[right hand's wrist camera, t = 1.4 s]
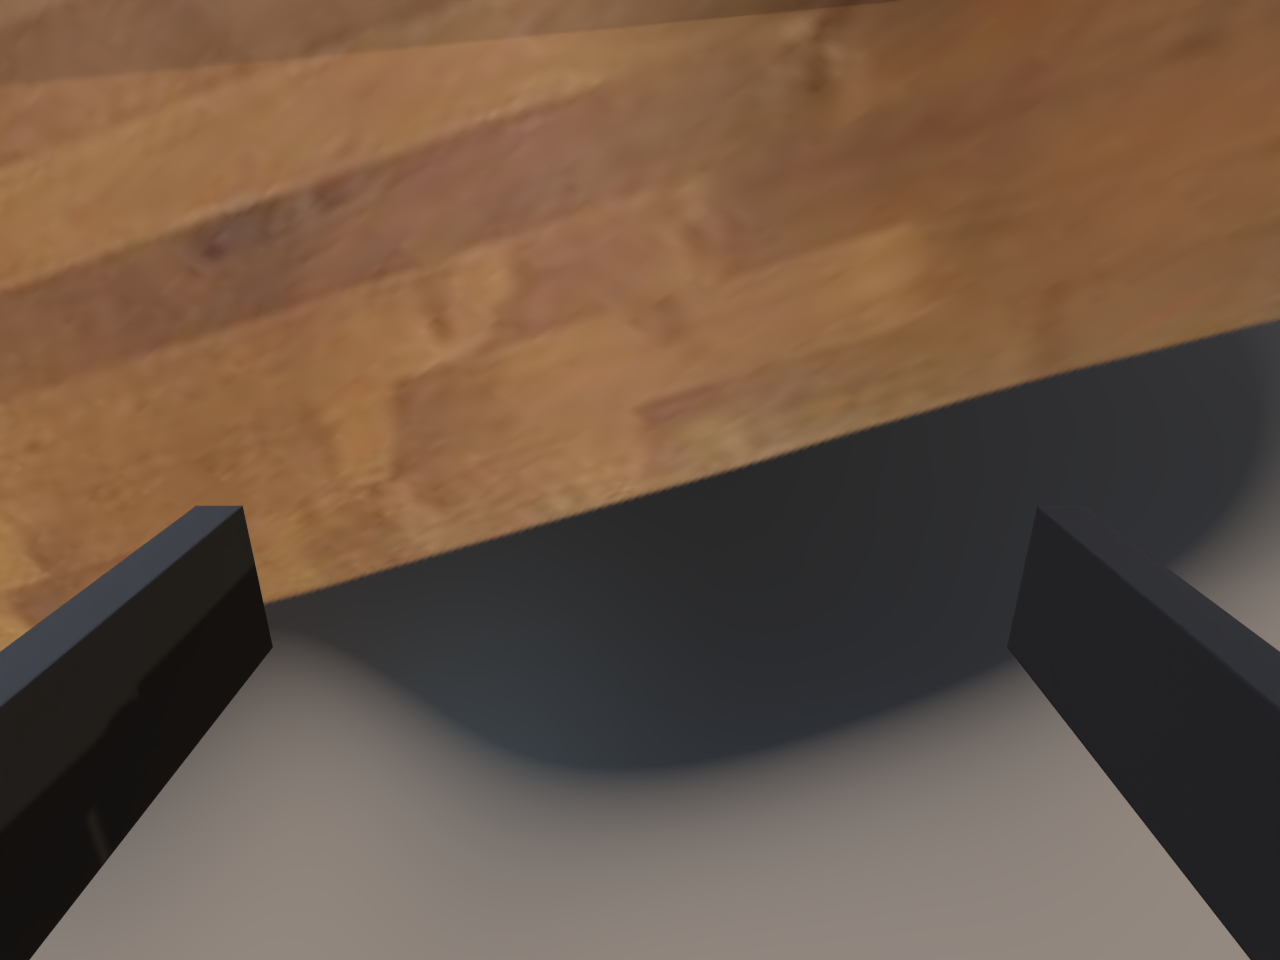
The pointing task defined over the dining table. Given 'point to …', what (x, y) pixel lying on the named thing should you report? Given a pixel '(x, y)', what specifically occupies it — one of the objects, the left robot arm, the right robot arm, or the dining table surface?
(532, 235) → the dining table surface
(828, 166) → the dining table surface
